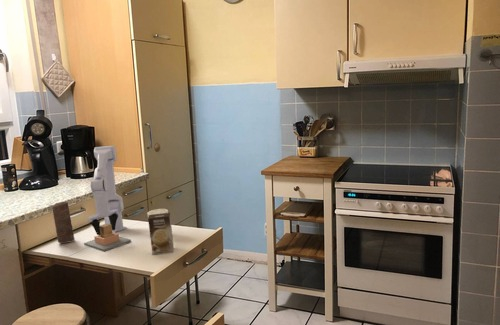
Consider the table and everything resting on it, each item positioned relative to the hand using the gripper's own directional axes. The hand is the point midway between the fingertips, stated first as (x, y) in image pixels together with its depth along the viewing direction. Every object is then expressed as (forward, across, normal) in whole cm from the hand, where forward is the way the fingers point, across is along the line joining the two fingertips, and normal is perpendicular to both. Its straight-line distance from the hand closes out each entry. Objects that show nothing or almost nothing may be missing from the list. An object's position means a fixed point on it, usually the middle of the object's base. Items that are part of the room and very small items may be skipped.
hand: (106, 232), depth 194 cm
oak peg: (+4, 0, 0) cm, 5 cm away
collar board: (+5, 0, 0) cm, 5 cm away
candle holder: (+6, +20, -15) cm, 25 cm away
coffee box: (+6, +6, -34) cm, 35 cm away
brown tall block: (+6, -10, +22) cm, 25 cm away
